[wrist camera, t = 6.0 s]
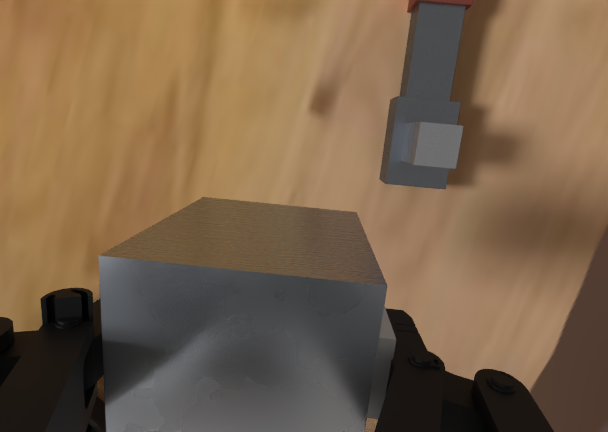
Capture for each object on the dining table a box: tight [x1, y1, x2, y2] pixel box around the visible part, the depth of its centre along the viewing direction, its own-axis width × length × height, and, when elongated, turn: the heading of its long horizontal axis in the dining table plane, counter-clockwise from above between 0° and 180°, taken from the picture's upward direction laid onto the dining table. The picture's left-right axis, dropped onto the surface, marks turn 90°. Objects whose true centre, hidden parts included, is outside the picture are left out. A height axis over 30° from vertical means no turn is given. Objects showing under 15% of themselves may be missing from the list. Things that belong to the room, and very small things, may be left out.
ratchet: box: [380, 0, 473, 189], centre depth 27 cm, size 5×24×7 cm, turn 175°
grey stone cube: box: [99, 197, 387, 432], centre depth 13 cm, size 7×7×8 cm
